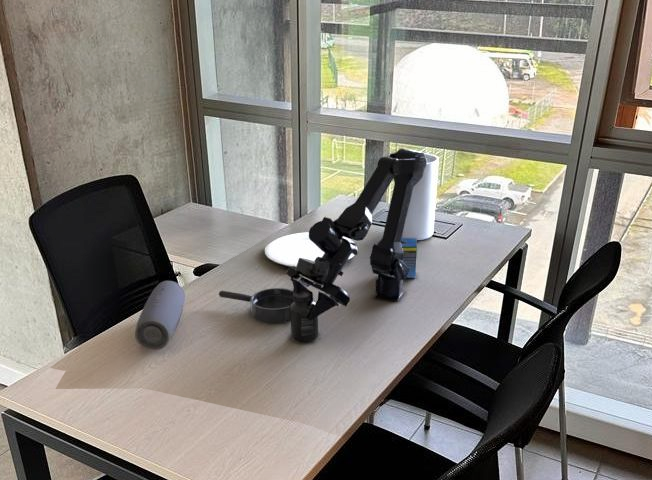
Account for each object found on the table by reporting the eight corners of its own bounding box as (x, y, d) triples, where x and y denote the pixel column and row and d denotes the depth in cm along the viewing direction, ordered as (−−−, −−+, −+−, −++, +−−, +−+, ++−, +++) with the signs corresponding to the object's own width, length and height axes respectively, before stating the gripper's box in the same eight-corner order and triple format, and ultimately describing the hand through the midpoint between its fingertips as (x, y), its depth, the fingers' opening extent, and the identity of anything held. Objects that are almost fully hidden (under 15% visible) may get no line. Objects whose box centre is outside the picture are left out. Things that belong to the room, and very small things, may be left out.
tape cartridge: (415, 273, 212) (417, 233, 205) (415, 278, 209) (418, 238, 202) (384, 272, 213) (386, 233, 206) (384, 278, 209) (386, 238, 203)
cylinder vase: (391, 228, 244) (394, 154, 230) (427, 226, 245) (432, 152, 231) (399, 242, 233) (403, 164, 220) (437, 239, 234) (443, 162, 221)
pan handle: (256, 300, 194) (256, 294, 193) (253, 303, 193) (253, 297, 192) (221, 295, 198) (220, 289, 197) (217, 297, 196) (217, 291, 195)
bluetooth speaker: (155, 312, 194) (149, 278, 189) (189, 312, 194) (185, 278, 189) (135, 355, 175) (129, 318, 170) (173, 354, 175) (168, 317, 169)
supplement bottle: (322, 332, 182) (321, 289, 176) (313, 345, 177) (312, 301, 170) (296, 329, 184) (294, 286, 178) (287, 341, 179) (285, 297, 172)
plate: (373, 247, 230) (373, 241, 229) (327, 280, 209) (326, 274, 208) (297, 231, 244) (297, 226, 243) (246, 261, 223) (245, 255, 222)
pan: (307, 306, 195) (307, 291, 193) (288, 327, 185) (287, 312, 183) (264, 299, 200) (263, 285, 197) (243, 319, 190) (242, 305, 187)
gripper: (290, 234, 176) (256, 288, 176) (341, 256, 164) (305, 314, 164) (315, 256, 185) (283, 307, 185) (365, 278, 172) (331, 333, 172)
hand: (299, 315), depth 176 cm, fingers closed on supplement bottle, 7 cm apart
